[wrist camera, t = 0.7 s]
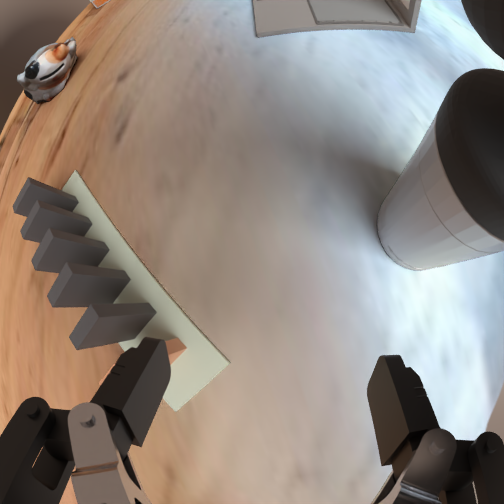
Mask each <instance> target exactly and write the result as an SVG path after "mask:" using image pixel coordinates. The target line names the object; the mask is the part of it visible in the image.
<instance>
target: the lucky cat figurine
mask: <svg viewBox="0 0 504 504" xmlns="http://www.w3.org/2000/svg"><path fill="white" fill-rule="evenodd" d="M76 59H77V55H76V41H75V39H74V38H73V37H72V38H71V39H67V40H66V42H65V43H54V44H50V45H48V46H44V47H42V48H41V49H39V50H38V51H37V52H36V53H35V54H34V55H33V56H32V57H31V59H30V60H29V61H28V63H27V64H26V67H25V72H23V73H22V74H19V75H18V78H17V81H18V83H19V84H20V85H21V86H23V88H24V93H25V95H26V96H27V97H28V98H30V99H31V100H33V101H35V102H36V103H37V104H39V103H41V102H49V101H50V100H51V99H52V98H54V97H55V96H56V95H57V94H58V93H59V92H60V91H61V90H62V89H64V86H65V83H66V80H67V79H68V78H69V74H70V71H71V69H72V67H73V65H74V63H75V61H76Z"/></svg>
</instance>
